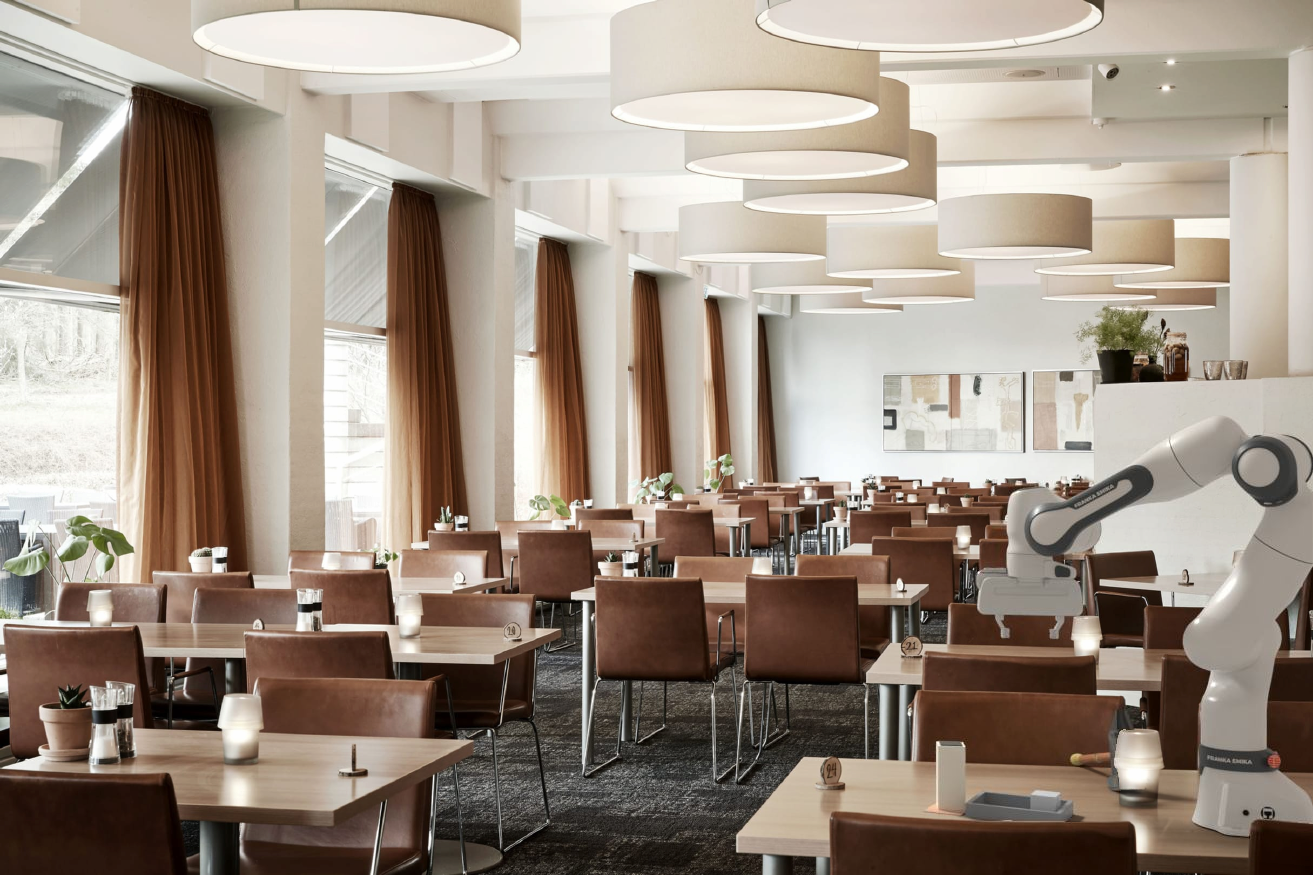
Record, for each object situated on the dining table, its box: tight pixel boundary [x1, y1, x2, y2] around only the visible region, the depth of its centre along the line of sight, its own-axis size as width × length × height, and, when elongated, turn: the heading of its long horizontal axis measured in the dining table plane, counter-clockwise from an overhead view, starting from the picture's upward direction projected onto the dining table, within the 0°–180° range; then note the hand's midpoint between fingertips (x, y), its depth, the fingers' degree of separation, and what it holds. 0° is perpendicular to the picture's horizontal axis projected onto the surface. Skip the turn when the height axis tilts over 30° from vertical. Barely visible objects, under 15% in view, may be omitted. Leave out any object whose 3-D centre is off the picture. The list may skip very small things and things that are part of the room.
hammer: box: [1070, 709, 1135, 791], centre depth 295 cm, size 6×16×30 cm
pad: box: [923, 801, 966, 817], centre depth 264 cm, size 7×11×1 cm, turn 153°
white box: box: [935, 740, 966, 811], centre depth 264 cm, size 5×5×12 cm
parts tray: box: [965, 790, 1074, 821], centre depth 258 cm, size 17×12×3 cm
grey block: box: [1029, 789, 1062, 812], centre depth 256 cm, size 4×4×4 cm
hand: (1029, 638), depth 278 cm, fingers open, 8 cm apart
